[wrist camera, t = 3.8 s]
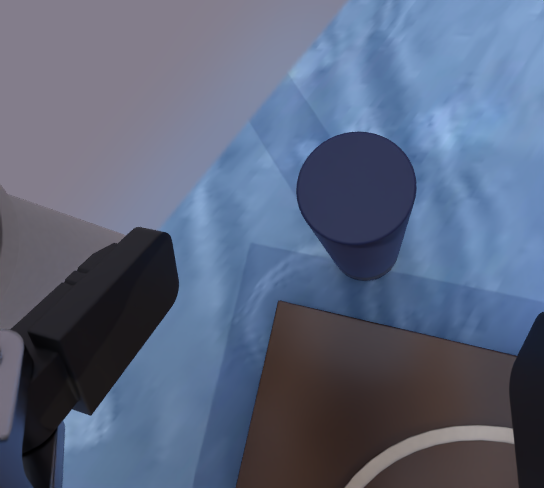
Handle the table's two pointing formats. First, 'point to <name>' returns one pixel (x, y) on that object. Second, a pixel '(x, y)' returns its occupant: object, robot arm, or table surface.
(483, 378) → the brown wooden board
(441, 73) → the table surface
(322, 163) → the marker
